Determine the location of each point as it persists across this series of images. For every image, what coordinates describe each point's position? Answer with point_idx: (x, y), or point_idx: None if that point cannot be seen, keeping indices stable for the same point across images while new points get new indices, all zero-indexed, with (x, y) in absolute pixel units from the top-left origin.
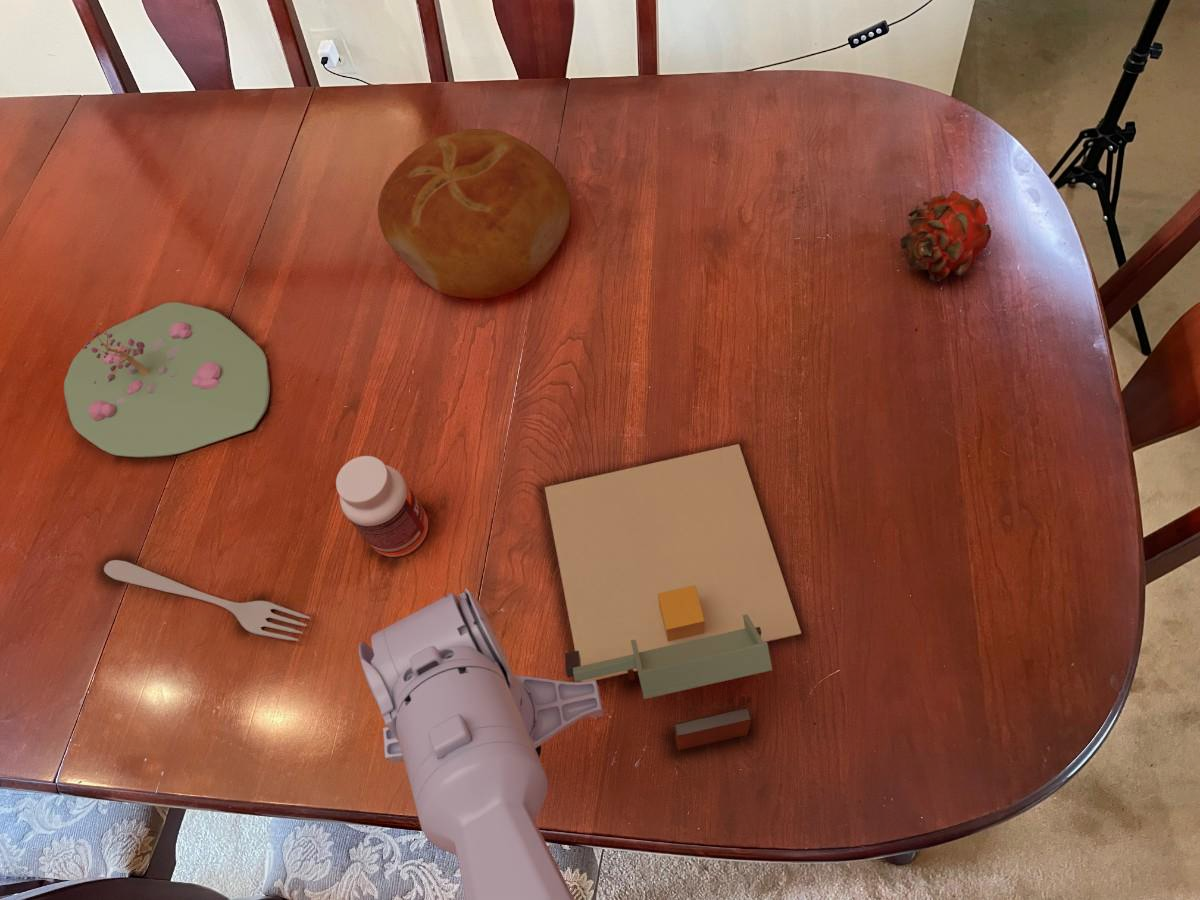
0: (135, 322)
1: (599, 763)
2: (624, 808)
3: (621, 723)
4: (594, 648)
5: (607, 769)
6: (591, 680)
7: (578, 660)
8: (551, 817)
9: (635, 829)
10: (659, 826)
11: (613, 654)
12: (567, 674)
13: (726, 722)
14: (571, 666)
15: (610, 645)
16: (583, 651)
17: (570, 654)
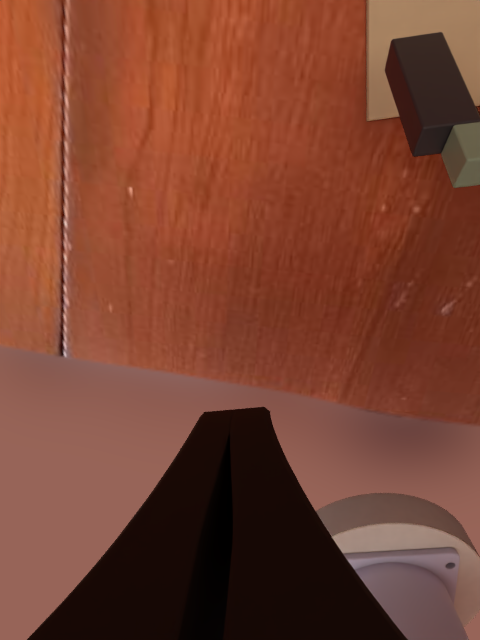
0: None
1: (372, 301)
2: (401, 377)
3: (437, 227)
4: (425, 16)
5: (385, 313)
6: (395, 116)
7: (463, 85)
8: (267, 379)
9: (412, 408)
10: (454, 407)
11: (472, 43)
12: (419, 146)
13: None
14: (444, 115)
15: (472, 11)
16: (392, 23)
17: (416, 48)
